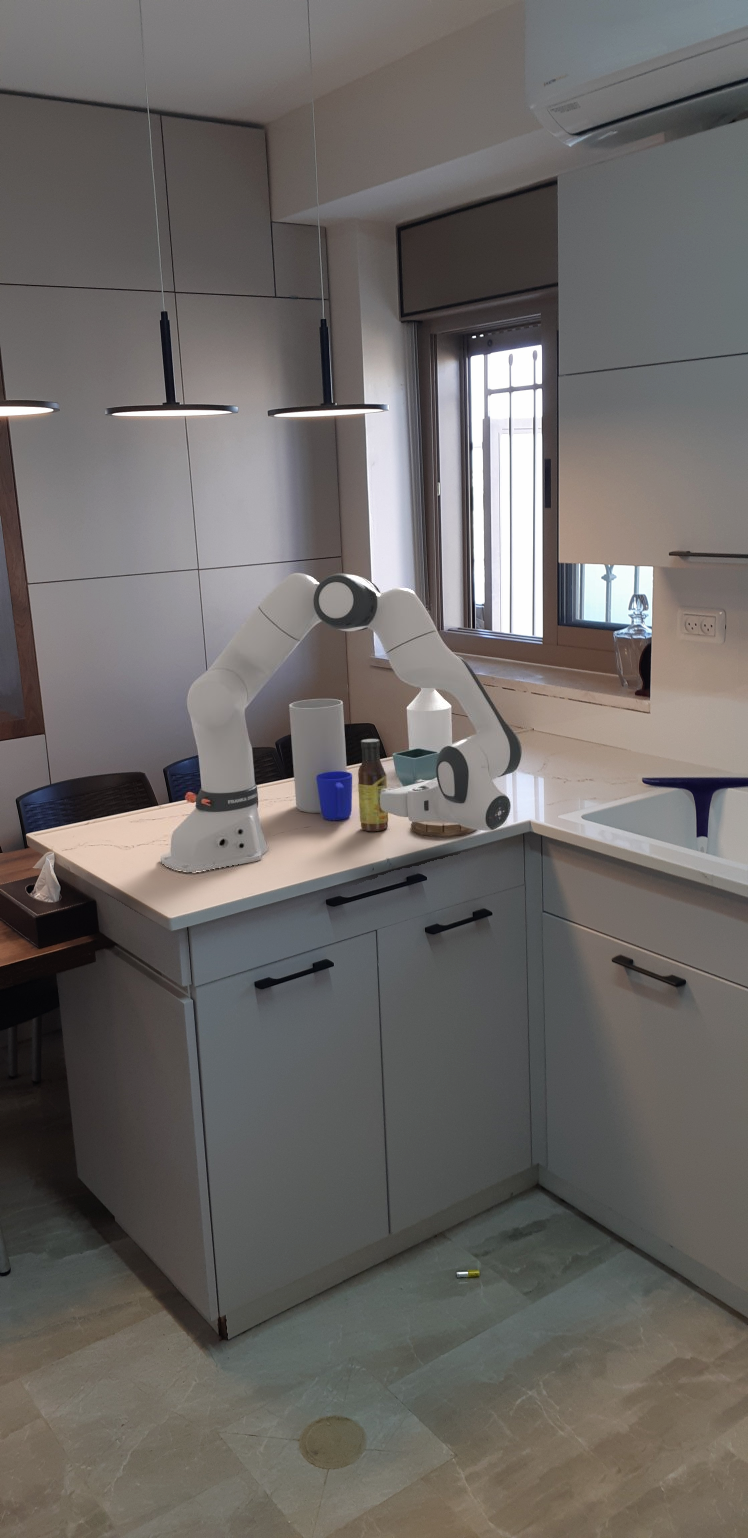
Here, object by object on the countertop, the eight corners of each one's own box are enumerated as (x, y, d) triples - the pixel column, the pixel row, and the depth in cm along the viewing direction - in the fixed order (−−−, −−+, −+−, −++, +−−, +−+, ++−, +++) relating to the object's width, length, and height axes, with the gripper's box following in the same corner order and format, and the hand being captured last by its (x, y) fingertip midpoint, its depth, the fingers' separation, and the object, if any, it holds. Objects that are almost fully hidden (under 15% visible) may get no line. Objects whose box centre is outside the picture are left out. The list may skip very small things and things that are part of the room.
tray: (442, 841, 244) (442, 830, 243) (397, 827, 255) (396, 817, 255) (493, 825, 253) (493, 815, 252) (447, 813, 264) (446, 803, 264)
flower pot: (392, 788, 290) (391, 753, 288) (419, 781, 295) (418, 747, 293) (415, 794, 283) (413, 758, 281) (442, 787, 288) (441, 752, 286)
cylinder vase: (359, 804, 276) (353, 701, 271) (322, 816, 267) (316, 710, 262) (322, 797, 285) (315, 697, 279) (285, 809, 276) (278, 705, 270)
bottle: (405, 763, 316) (401, 672, 311) (447, 759, 318) (444, 669, 312) (414, 772, 305) (410, 678, 299) (458, 768, 307) (454, 675, 301)
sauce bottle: (385, 832, 252) (381, 743, 247) (357, 832, 253) (352, 743, 249) (391, 824, 258) (387, 737, 254) (364, 824, 260) (359, 737, 255)
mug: (325, 828, 258) (322, 785, 255) (316, 814, 269) (313, 773, 267) (361, 824, 259) (358, 781, 257) (351, 811, 271) (348, 769, 269)
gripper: (480, 774, 241) (436, 764, 251) (405, 793, 228) (362, 782, 239) (481, 803, 242) (437, 792, 253) (407, 824, 230) (364, 811, 240)
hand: (400, 787), depth 246 cm, fingers open, 8 cm apart
